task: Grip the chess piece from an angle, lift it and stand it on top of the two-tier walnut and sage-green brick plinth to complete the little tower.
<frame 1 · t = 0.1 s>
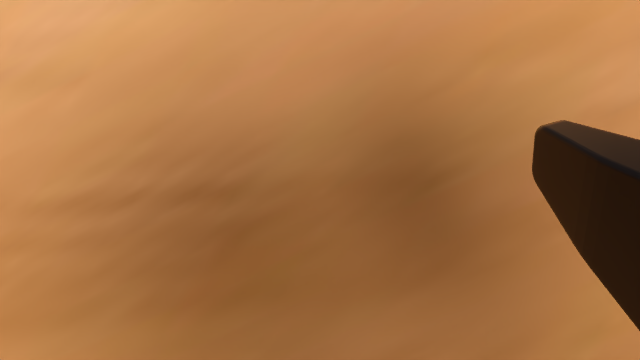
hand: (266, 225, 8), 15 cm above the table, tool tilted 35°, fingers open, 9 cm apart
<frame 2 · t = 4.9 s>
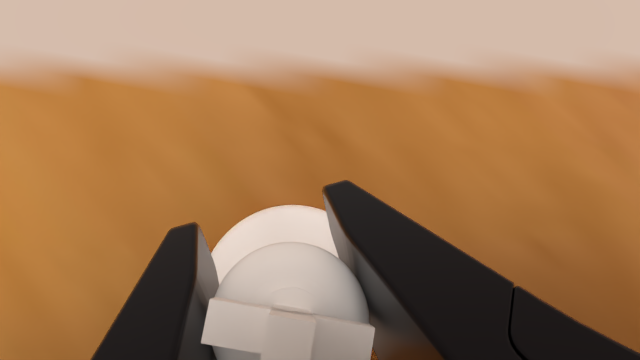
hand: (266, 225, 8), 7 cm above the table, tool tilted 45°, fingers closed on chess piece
chess piece: (292, 296, 15), on the table, touching gripper
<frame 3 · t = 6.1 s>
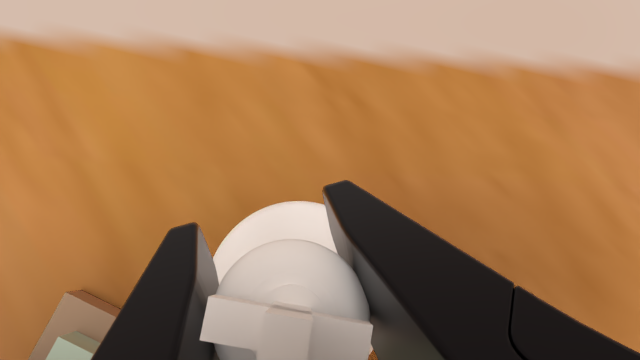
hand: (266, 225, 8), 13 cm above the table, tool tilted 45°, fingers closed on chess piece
chess piece: (298, 291, 15), point 6 cm above the table, touching gripper
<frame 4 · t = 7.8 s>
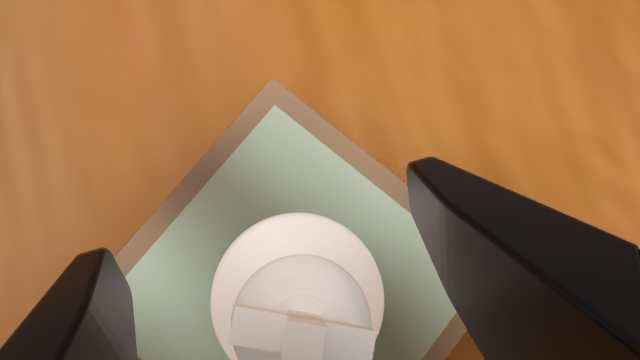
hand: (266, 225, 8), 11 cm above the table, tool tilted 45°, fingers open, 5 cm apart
brick plinth: (292, 290, 19), on the table
chess piece: (297, 298, 16), point 3 cm above the table, touching brick plinth
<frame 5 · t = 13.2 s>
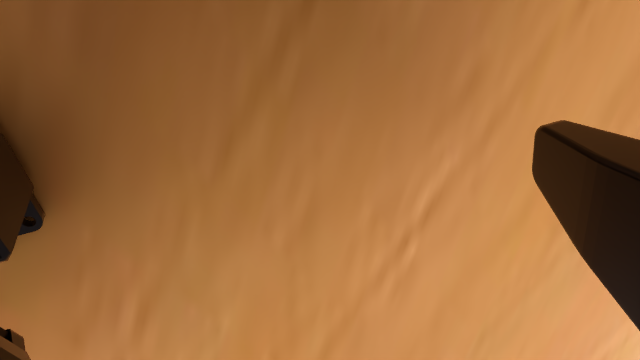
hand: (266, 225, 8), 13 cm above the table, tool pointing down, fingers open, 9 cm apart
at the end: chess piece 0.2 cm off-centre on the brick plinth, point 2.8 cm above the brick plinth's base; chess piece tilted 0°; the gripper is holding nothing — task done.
